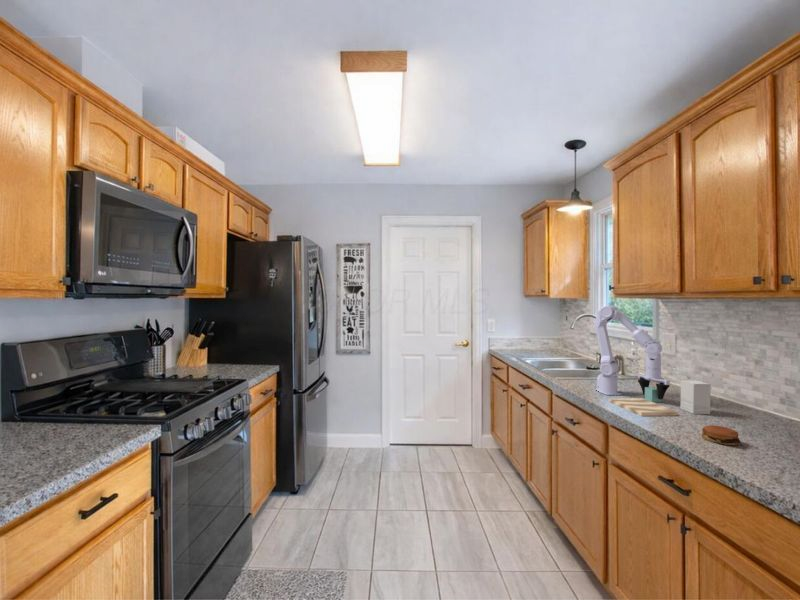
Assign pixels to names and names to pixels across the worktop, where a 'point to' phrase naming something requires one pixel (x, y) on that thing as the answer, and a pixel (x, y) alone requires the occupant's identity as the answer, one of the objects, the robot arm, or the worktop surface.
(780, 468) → the worktop surface
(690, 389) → the supplement box
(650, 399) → the teal block
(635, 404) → the birch board
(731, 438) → the burger
